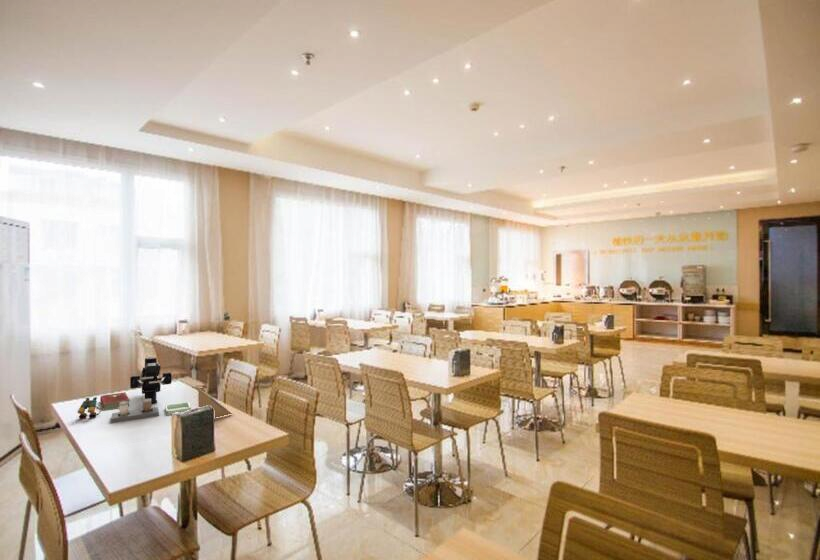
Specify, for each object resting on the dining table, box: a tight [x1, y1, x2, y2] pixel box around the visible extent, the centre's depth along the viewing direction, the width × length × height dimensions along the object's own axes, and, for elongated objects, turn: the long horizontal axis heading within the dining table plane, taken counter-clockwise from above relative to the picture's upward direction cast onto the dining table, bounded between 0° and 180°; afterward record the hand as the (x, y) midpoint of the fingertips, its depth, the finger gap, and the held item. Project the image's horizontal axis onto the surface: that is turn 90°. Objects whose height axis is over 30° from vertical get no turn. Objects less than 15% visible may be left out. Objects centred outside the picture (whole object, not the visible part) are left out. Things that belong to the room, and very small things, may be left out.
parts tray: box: [164, 401, 192, 416], centre depth 226 cm, size 12×11×2 cm
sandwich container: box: [197, 388, 233, 418], centre depth 218 cm, size 9×15×15 cm, turn 130°
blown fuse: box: [142, 398, 152, 413], centre depth 218 cm, size 4×4×8 cm
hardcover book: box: [99, 391, 131, 411], centre depth 239 cm, size 12×21×4 cm, turn 40°
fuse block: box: [110, 406, 160, 424], centre depth 216 cm, size 10×20×2 cm, turn 123°
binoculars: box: [76, 396, 102, 419], centre depth 216 cm, size 9×9×10 cm
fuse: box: [118, 401, 129, 416], centre depth 213 cm, size 4×4×8 cm
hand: (151, 383), depth 219 cm, fingers open, 9 cm apart
